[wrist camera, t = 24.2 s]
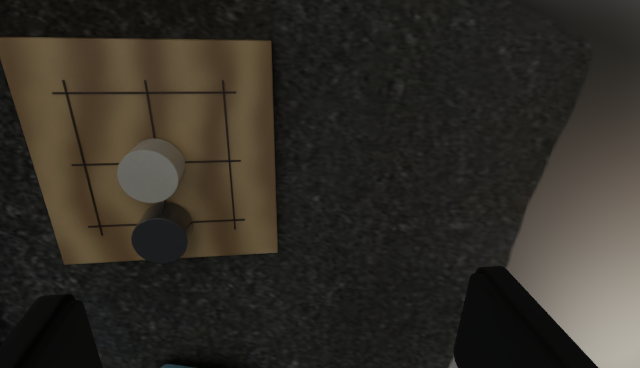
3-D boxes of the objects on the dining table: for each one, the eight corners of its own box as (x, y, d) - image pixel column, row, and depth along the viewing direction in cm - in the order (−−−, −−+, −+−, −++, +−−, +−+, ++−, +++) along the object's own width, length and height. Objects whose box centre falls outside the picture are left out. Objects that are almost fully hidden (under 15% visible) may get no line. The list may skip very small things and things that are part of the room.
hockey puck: (190, 201, 34) (184, 217, 32) (196, 243, 36) (190, 262, 34) (137, 203, 34) (126, 219, 31) (146, 246, 36) (136, 265, 33)
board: (271, 40, 31) (271, 41, 30) (277, 246, 39) (277, 253, 38) (3, 36, 28) (-8, 37, 27) (70, 257, 37) (63, 265, 35)
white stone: (181, 137, 32) (174, 149, 29) (188, 187, 34) (181, 202, 31) (124, 138, 31) (111, 150, 29) (134, 189, 33) (122, 204, 31)
